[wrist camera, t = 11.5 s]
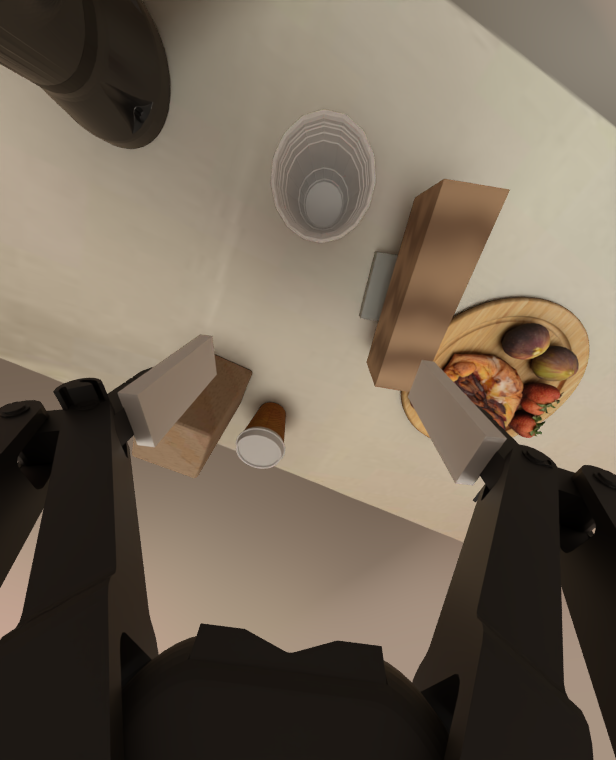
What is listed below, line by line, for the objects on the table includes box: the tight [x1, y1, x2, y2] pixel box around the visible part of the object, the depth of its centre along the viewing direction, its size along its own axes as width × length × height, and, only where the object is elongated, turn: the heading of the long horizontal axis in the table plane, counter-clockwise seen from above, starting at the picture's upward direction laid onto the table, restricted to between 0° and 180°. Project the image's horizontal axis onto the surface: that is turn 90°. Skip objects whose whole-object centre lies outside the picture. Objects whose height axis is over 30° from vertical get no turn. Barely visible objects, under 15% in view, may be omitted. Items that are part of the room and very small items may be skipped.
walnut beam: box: [367, 179, 510, 392], centre depth 30 cm, size 22×6×8 cm, turn 172°
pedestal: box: [359, 252, 398, 321], centre depth 36 cm, size 10×10×6 cm
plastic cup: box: [271, 109, 376, 243], centre depth 29 cm, size 11×11×12 cm
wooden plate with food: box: [401, 297, 589, 438], centre depth 42 cm, size 32×32×8 cm
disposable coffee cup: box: [236, 402, 286, 469], centre depth 48 cm, size 10×10×12 cm
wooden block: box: [132, 355, 252, 478], centre depth 41 cm, size 10×10×20 cm
